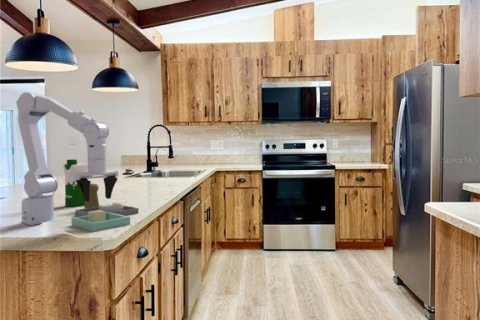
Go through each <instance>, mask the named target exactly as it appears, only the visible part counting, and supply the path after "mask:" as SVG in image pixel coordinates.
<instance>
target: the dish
mask: <svg viewBox="0 0 480 320" xmlns="http://www.w3.org/2000/svg"><path fill="white" fill-rule="evenodd" d="M105 215H106V220H105V221H100V222H90V221H88V215H87V216H75V217H72V218H71V219H70V220H71V226H72V227H74V228H75V227H76V228H79V229H83V230H86V231H89V232H93V233H94V232H98V231H103V230H107V229H113V228H117V227H119V228H120V227H123V226H128V225H131V216H129V215H126V216H124V215H119V214H115V213H110V212H106V213H105Z"/></svg>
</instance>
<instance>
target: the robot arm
mask: <svg viewBox="0 0 480 320" xmlns="http://www.w3.org/2000/svg"><path fill="white" fill-rule="evenodd" d="M15 102H16V106H17V112H18V114H17V122H18V126H19V127H18V128H19V132H20V135H21V140H22V144H23V149H24V153H25V156H26V157H25V158H26V161H27V166H28V171H27V172H26V173H25V174H24V176H23V179H24V183H23V190H24V192H25V194H26V195H27V196H28V197H24V198H23V199H22V201H21V221H20V222H21V223H23V224H26V225H28V226H33V225H39V224H42V223H47V222H53V221H59V219H58V218H55V210H54V207H55V205H54V204H55V203H54V195H56V194H55V193H56V191H57V190H58V187H59V183H58V180H57V178H56V177H55V175H54V171H53V170H51V169H50V168H49V167H48V166H47V161H46V157H45V153H44V148H43V144H42V139H41V135H40V130H39V128H38V122H39V121H40V120H41V119H43V118H44V117H45V116H47V114H48V113H50V112H51V113H53V114H55V115H56V116H58V117H61V118H63V119H64V120H66V121H67V124H68V126H70V127H71V128H72V129H74V130H76V131H78V132H79V133H81V134H83V137H84V138H85V142H86V144H87V146H86V147H87V148H86V149H87V151H86V152H87V164H88V172H85V173H74V179H75V180H76V182H77V184H78V185H79V187H80V189H81V191H82V194H83V198H84V201H89V189H90V184H92V181H91V180H89V179H101V178H103V182H104V183H103V184H104V195H105V199H106V200H107V199H109V200H110V199H111V198H112V194H113V191H114V187H115V185H116V183H117V181H118V177H119V170H107V159H106V158H107V152H106V151H107V145H106V144H107V143H106V142H107V141H106V140H107V138H108V136H109V134H110V129H109V127H108V125H106V123H104V122H97V120H96V118H93V117H92V118H91V117H90V116H88V115H86V112H85V111H83V110H75V111H72V110H71V109H69V108H68V107H67V106H65V105H63V104H62V103H61V102H59V101H57V100H56V99H55V98H53V97H50V96H49V95H46V94H44V95H43V94H37V93H31V92H27V91H26V92H23V93H21V94H20V95H19V97H18V98H17V100H16V101H15ZM87 179H88V180H87Z"/></svg>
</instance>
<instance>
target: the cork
mask: <svg viewBox="0 0 480 320" xmlns="http://www.w3.org/2000/svg"><path fill="white" fill-rule="evenodd" d="M98 191H99V185H98V184H97V183H90V189H89V201H85V206H83V207H84V208H83V209H85V208H92V207H99V206H100V202H99V196H98Z"/></svg>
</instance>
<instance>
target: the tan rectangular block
mask: <svg viewBox="0 0 480 320" xmlns="http://www.w3.org/2000/svg"><path fill="white" fill-rule="evenodd" d="M105 220H106V215H105V211H101V210H96V211H90V212H88V221H90V222H100V221H105Z"/></svg>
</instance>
